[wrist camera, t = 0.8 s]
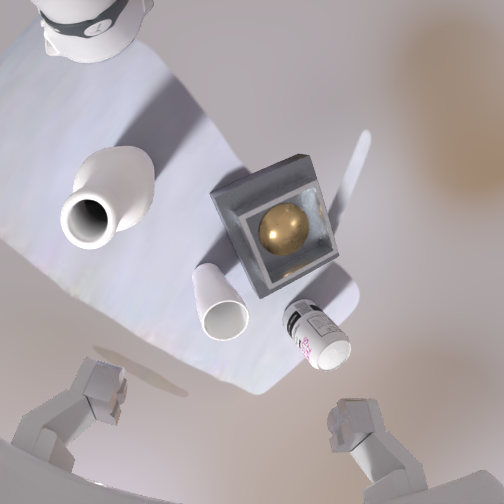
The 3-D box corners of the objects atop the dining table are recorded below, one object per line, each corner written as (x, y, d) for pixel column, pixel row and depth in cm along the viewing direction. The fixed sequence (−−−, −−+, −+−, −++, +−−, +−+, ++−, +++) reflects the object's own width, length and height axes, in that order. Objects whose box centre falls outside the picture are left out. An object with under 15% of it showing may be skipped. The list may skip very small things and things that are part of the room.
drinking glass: (190, 256, 52) (205, 297, 38) (228, 259, 54) (255, 300, 41) (185, 291, 54) (198, 341, 40) (221, 293, 56) (245, 341, 43)
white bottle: (147, 139, 43) (136, 131, 16) (160, 192, 46) (170, 264, 20) (94, 155, 41) (12, 177, 14) (108, 207, 44) (55, 298, 18)
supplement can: (321, 313, 65) (359, 352, 52) (292, 337, 65) (325, 380, 52) (305, 290, 62) (344, 329, 48) (273, 315, 61) (306, 360, 48)
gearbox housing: (209, 193, 49) (218, 202, 42) (298, 153, 51) (320, 156, 45) (253, 289, 58) (266, 309, 51) (328, 248, 60) (349, 262, 53)
